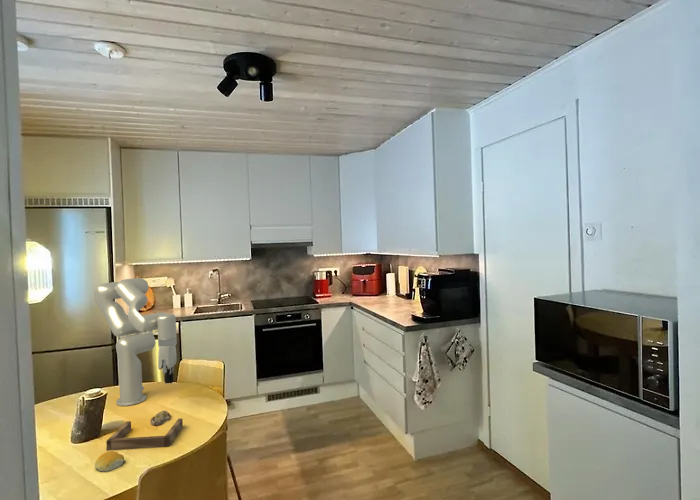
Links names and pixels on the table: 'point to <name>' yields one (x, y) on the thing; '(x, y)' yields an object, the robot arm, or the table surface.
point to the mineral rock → (160, 418)
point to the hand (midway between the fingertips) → (169, 382)
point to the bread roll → (109, 461)
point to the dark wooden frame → (141, 438)
